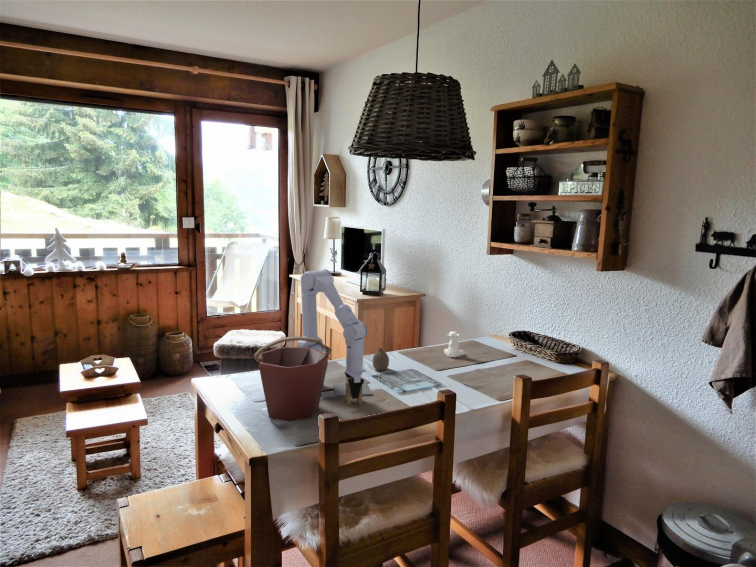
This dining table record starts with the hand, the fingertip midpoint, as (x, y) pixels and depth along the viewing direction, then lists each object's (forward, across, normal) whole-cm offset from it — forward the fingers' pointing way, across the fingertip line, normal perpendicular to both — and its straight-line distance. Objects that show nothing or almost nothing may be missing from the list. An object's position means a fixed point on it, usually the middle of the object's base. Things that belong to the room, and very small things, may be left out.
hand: (353, 395), depth 177 cm
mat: (+2, +10, -1) cm, 11 cm away
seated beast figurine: (+3, +48, -53) cm, 71 cm away
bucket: (+3, -6, +21) cm, 22 cm away
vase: (+3, +32, -16) cm, 36 cm away
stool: (+2, 0, 0) cm, 2 cm away
